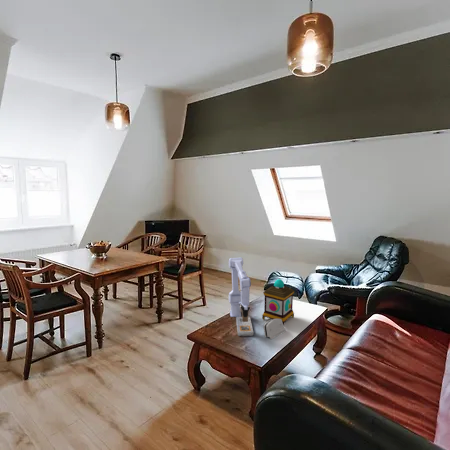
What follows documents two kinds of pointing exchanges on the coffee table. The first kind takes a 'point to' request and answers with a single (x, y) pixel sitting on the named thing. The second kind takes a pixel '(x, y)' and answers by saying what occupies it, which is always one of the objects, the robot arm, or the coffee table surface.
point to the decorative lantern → (278, 302)
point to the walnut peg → (244, 318)
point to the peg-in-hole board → (244, 327)
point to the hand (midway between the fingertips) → (244, 315)
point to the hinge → (274, 328)
